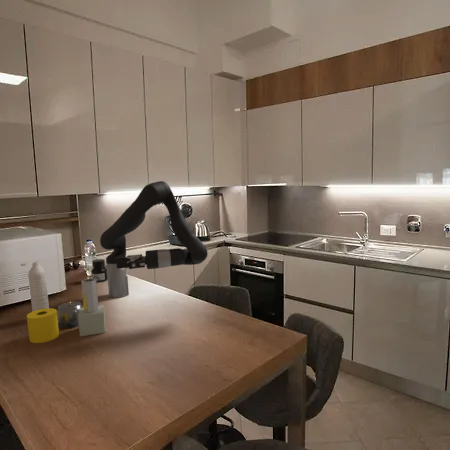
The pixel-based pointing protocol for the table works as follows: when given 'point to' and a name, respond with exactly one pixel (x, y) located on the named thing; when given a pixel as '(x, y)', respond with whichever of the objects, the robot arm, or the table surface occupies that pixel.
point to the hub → (69, 314)
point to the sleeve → (90, 295)
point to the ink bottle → (99, 270)
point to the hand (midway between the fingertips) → (116, 263)
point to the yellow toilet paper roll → (42, 325)
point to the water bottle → (37, 286)
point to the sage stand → (91, 322)
